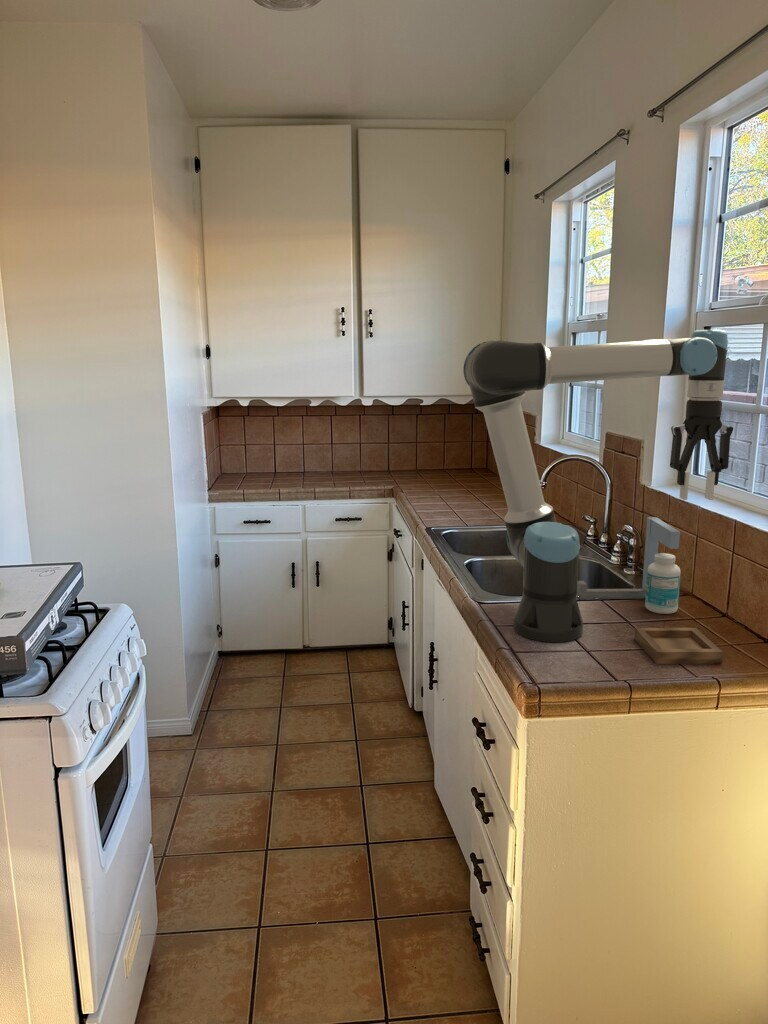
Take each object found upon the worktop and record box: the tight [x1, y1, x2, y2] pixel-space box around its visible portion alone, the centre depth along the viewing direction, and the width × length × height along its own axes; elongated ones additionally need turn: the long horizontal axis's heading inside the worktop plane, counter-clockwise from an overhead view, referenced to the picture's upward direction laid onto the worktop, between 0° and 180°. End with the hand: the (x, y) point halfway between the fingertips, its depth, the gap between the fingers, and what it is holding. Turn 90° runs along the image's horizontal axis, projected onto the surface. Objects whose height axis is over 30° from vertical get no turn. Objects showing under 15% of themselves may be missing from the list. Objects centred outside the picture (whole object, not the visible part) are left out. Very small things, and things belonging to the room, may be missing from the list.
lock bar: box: [641, 516, 681, 590], centre depth 176 cm, size 2×15×18 cm, turn 0°
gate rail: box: [577, 580, 646, 601], centre depth 184 cm, size 23×3×4 cm, turn 90°
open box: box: [634, 627, 724, 665], centre depth 151 cm, size 13×13×2 cm
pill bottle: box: [644, 552, 682, 615], centre depth 175 cm, size 8×7×14 cm
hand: (696, 498), depth 172 cm, fingers open, 5 cm apart
